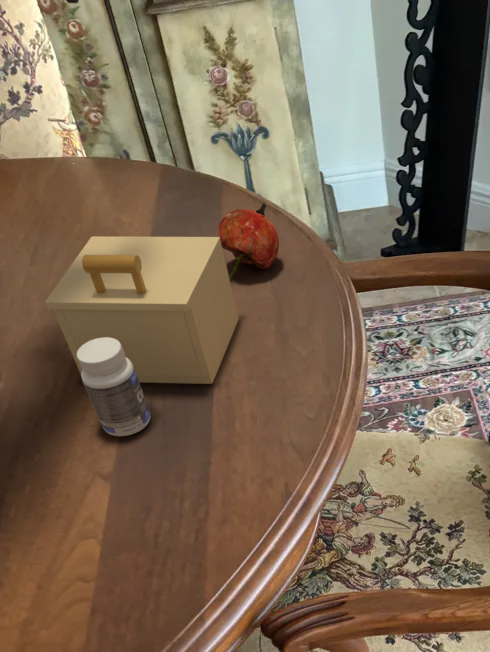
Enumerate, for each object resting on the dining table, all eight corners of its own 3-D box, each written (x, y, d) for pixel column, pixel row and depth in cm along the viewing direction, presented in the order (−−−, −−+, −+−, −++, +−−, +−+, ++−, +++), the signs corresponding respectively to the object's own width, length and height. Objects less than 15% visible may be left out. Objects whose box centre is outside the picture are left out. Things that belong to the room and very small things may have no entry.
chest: (212, 384, 80) (190, 307, 73) (83, 381, 81) (50, 305, 75) (238, 319, 88) (221, 244, 81) (120, 317, 89) (94, 243, 82)
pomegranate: (263, 303, 94) (307, 230, 93) (218, 271, 88) (264, 193, 87) (232, 286, 98) (273, 216, 97) (187, 254, 93) (230, 179, 92)
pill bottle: (159, 424, 76) (133, 352, 70) (112, 444, 74) (81, 371, 68) (141, 400, 79) (114, 328, 73) (95, 418, 77) (64, 346, 71)
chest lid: (188, 311, 73) (176, 267, 70) (47, 309, 74) (28, 266, 71) (221, 244, 81) (211, 202, 78) (94, 243, 82) (79, 202, 79)
